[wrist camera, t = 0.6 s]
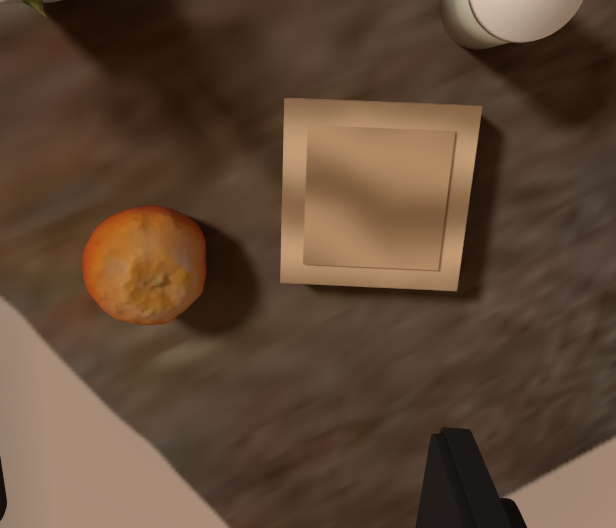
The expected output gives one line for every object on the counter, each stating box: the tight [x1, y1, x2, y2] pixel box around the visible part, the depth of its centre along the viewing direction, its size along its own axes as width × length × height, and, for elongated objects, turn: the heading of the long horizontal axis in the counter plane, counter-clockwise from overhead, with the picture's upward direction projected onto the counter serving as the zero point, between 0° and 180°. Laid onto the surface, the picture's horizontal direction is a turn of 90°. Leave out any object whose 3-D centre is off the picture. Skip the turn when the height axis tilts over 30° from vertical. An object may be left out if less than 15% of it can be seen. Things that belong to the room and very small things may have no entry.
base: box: [280, 98, 482, 291], centre depth 35 cm, size 12×12×3 cm
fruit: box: [82, 205, 207, 325], centre depth 36 cm, size 8×8×8 cm
